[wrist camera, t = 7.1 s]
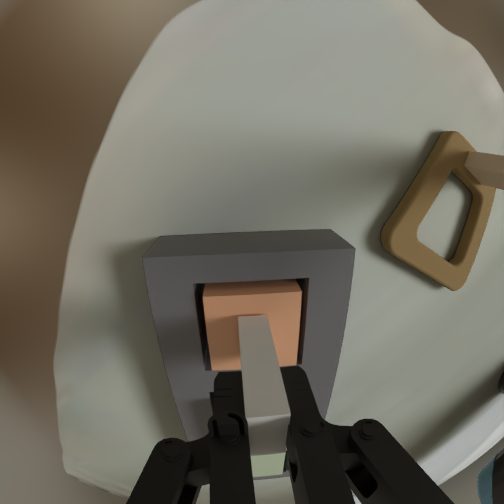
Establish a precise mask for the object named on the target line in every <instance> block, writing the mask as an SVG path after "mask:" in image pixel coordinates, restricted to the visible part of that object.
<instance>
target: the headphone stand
mask: <svg viewBox="0 0 504 504" xmlns="http://www.w3.org/2000/svg"><path fill="white" fill-rule="evenodd" d="M451 171H452V172H453V173H454V174H455V175H456V176H457V177H458V178H459V179H460V180H461V181H462V182H463V183H464V184H465V185H466V186H467V187H468V188H469V189H470V190H471V192H472V195H473V199H472V204H471V207H470V211H469V214H468V217H467V220H466V224H465V227H464V230H463V233H462V236H461V239H460V242H459V244H458V247H457V250H456V252H455V255H454V257H453V258H452V259H451V260H450V261H446V260H445V259H443V258H442V257H440V256H439V255H438V254H436V253H435V252H433V251H432V250H430V249H429V248H428V247H426V246H425V245H423V244H422V243H420V242H419V241H418V239H417V229H418V226H419V224H420V223H421V221H422V220H423V218H424V217H425V215H426V213H427V212H428V210H429V209H430V207H431V205H432V204H433V202H434V200H435V199H436V197H437V195H438V194H439V192H440V190H441V189H442V187H443V185H444V183H445V182H446V180H447V178H448V176H449V175H450V173H451ZM496 188H498V189H502V190H504V156H501V155H495V154H488V153H480V152H476V150H475V149H474V148H473V147H472V146H471V145H470V144H469V142H468V141H467V140H466V139H465V138H464V137H463V136H462V135H461V134H460V133H459V132H456V131H445V132H443V133H442V134H441V135H440V137H439V139H438V140H437V142H436V144H435V146H434V147H433V149H432V151H431V153H430V154H429V156H428V158H427V160H426V161H425V163H424V165H423V166H422V168H421V170H420V171H419V173H418V174H417V176H416V178H415V179H414V181H413V183H412V184H411V186H410V187H409V189H408V190H407V192H406V194H405V195H404V197H403V198H402V200H401V201H400V203H399V204H398V206H397V207H396V209H395V210H394V212H393V213H392V215H391V216H390V218H389V219H388V221H387V222H386V223H385V225H384V227H383V229H382V232H381V243H382V245H383V247H384V249H385V250H386V251H387V252H389V253H390V254H392V255H393V256H395V257H397V258H398V259H400V260H402V261H404V262H405V263H407V264H409V265H410V266H412V267H414V268H415V269H417V270H419V271H420V272H422V273H424V274H425V275H427V276H429V277H430V278H432V279H434V280H435V281H437V282H438V283H440V284H442V285H443V286H445V287H446V288H448V289H450V290H452V291H456V290H458V289H460V288H461V287H462V286H463V285H464V283H465V282H466V280H467V277H468V275H469V272H470V270H471V267H472V265H473V262H474V260H475V257H476V254H477V252H478V249H479V246H480V243H481V240H482V237H483V234H484V231H485V228H486V225H487V222H488V218H489V215H490V211H491V207H492V204H493V200H494V196H495V192H496Z"/></svg>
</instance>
